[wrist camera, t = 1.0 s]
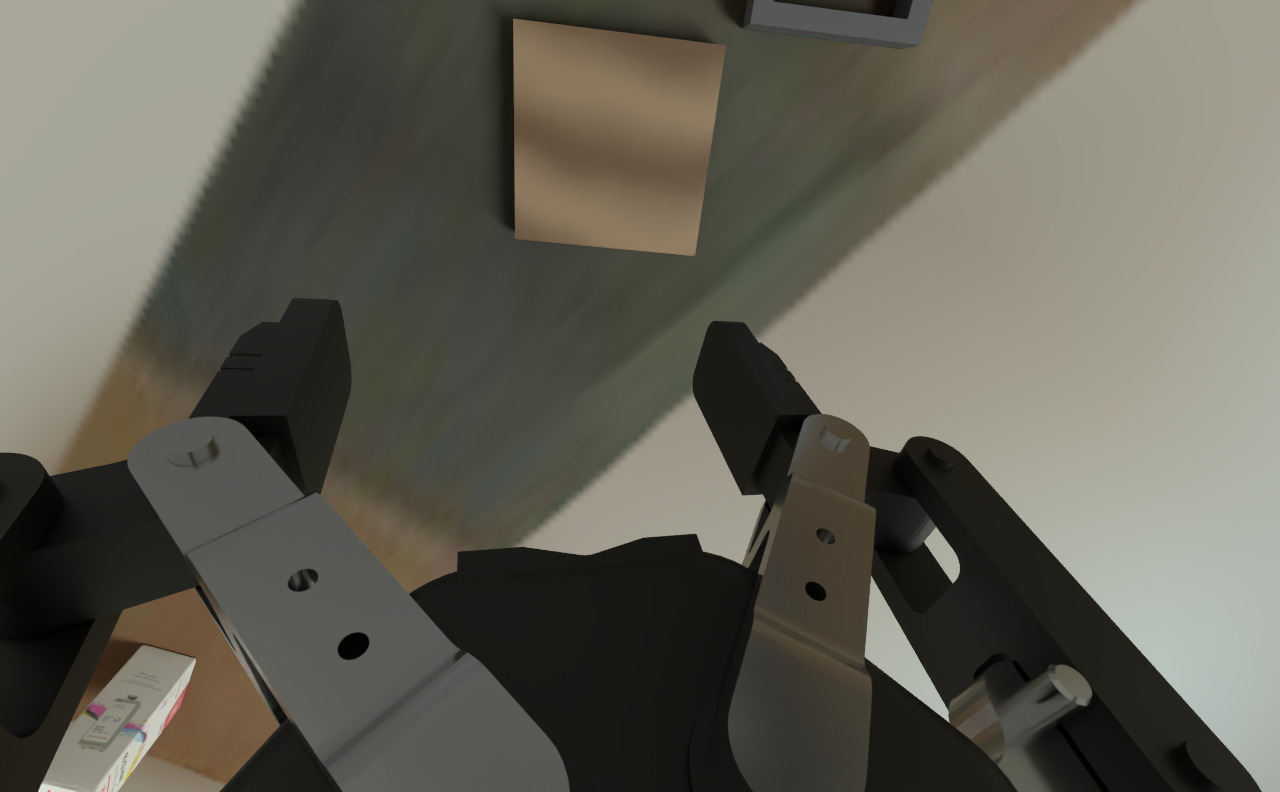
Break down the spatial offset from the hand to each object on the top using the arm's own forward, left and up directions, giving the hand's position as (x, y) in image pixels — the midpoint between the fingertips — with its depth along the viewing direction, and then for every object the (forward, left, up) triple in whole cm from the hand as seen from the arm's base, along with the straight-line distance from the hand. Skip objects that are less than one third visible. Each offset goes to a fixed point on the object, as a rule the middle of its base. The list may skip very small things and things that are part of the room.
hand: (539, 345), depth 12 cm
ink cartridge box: (+48, -39, -24) cm, 66 cm away
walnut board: (-3, +1, -23) cm, 24 cm away
